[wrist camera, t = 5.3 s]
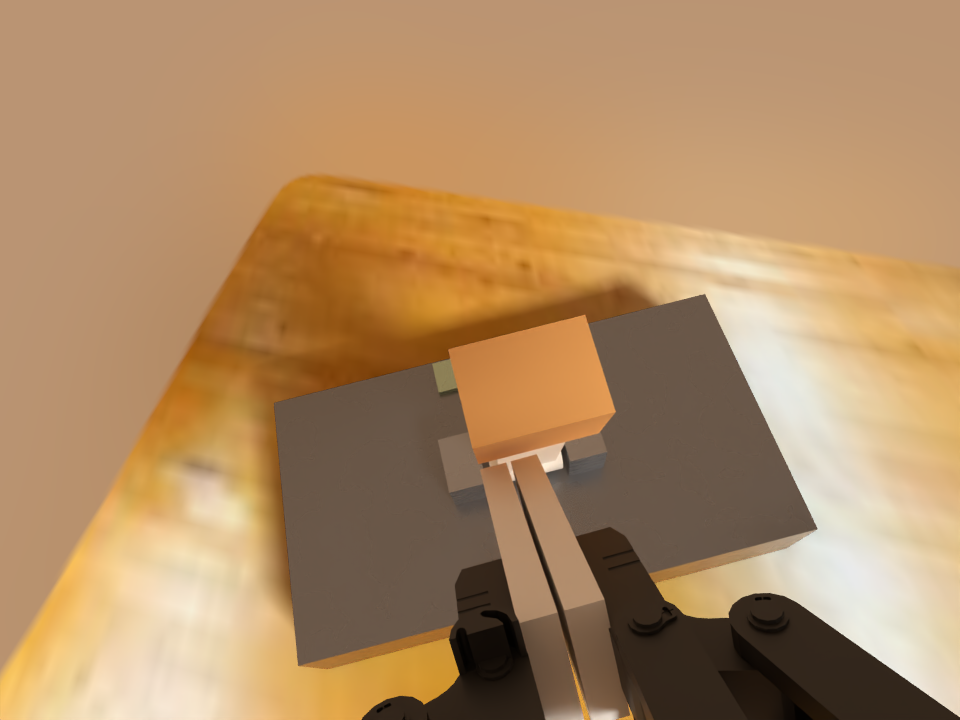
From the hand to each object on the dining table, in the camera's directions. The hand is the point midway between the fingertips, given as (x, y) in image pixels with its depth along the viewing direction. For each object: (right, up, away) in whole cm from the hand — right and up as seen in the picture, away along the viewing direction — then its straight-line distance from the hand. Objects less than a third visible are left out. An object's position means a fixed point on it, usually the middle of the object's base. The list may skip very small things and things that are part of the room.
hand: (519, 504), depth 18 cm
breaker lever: (+1, 0, +11) cm, 11 cm away
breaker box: (+1, -2, +15) cm, 15 cm away
